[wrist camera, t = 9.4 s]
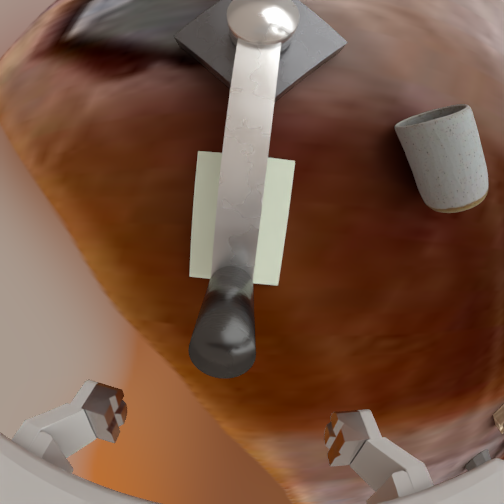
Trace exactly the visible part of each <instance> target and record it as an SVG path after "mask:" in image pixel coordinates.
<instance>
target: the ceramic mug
mask: <svg viewBox="0 0 504 504" xmlns="http://www.w3.org/2000/svg"><path fill="white" fill-rule="evenodd" d="M395 131H396V134H397V136H398V138H399V140H400V142H401V145H402V147H403V149H404V152H405V154H406V157H407V160H408V162H409V165H410V167H411V170H412V172H413V175H414V178H415V181H416V184H417V187H418V190H419V192H420V194H421V196H422V199H423V200H424V202H425V204H426V205H427V206H428V207H429V208H431V209H433V210H435V211H438V212H443V213H455V212H460V211H465V210H468V209H470V208H473V207H475V206H476V205H478V204H479V203H481V202H482V201H483V200H484V198H485V197H486V195H487V192H488V173H487V167H486V163H485V159H484V155H483V150H482V146H481V142H480V138H479V134H478V130H477V126H476V122H475V119H474V116H473V112H472V110H471V108H470V106H469V105H465V104H459V105H452V106H447V107H442V108H438V109H434V110H431V111H427V112H424V113H421V114H418V115H415V116H412V117H410V118H407V119H405V120H403V121H401V122H399V123H397V124H396V125H395Z"/></svg>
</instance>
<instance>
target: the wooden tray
mask: <svg viewBox="0 0 504 504" xmlns="http://www.w3.org/2000/svg"><path fill="white" fill-rule="evenodd" d="M493 417H494V421H495V425H496V427H497V428H498V429H499V431H500V432H501V434H503V433H504V404H503V405H502V406H501V408H499V409H498V410H497V411H496V412H495V413H494V414H493Z"/></svg>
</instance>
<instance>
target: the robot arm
mask: <svg viewBox="0 0 504 504" xmlns="http://www.w3.org/2000/svg"><path fill="white" fill-rule="evenodd" d="M123 397H124V394H123V391H122V390H121V389H118V388H114V387H111V386H108V385H105V384H102V383H98V382H95V381H92V380H87V381H85V383H84V384H83V386H82V387H81V388H80V390H79V391H78V393H77V394H76V396H75V397H74V399H73V400H72V402H71V403H70V404H68V403H66V404H64V405H61V406H59V407H57V408H54V409H52V410H49V411H47V412H45V413H42V414H40V415H37V416H35V417H32V418H30V419H27V420H25V421H24V422H23V423H22V425H21V426H20V428H19V429H18V431H17V432H16V433H15V435H14V436H13V438H12V439H9V438H7V437H6V436H5V435H3V434H2V433H0V504H161V503H156V502H152V501H149V500H144V499H141V498H137V497H134V496H130V495H127V494H124V493H121V492H118V491H115V490H112V489H109V488H106V487H104V486H101V485H98V484H96V483H93V482H91V481H88V480H86V479H83V478H81V477H79V476H76V475H74V474H72V472H73V467H72V466H71V465H70V463H69V462H68V460H67V459H66V458H68V457H69V456H71V455H72V454H74V453H75V452H77V451H78V450H80V449H81V448H83V447H85V446H86V445H88V444H89V443H91V442H92V441H94V440H95V439H96V438H99V439H103V440H106V441H109V442H112V443H115V442H116V440H117V437H118V436H119V433H120V430H119V426H121V425H123V424H124V422H125V420H126V416H127V406H126V403H125V402H124V401H123V400H122V399H123ZM330 420H331V422H330V423H329V424H327V426H326V428H325V432H324V442H325V446H326V447H328V448H329V451H328V453H327V456H328V460H329V465H330V466H342V465H350V467H351V468H352V469H353V470H354V471H355V472H356V473H357V474H358V475H359V476H360V477H361V478H362V479H363V480H364V481H365V482H366V483H367V484H368V485H369V486H371V487H372V488H373V489H374V490H375V491H376V492H375V493H374V494H373V495H372V496H371V497H370V498H369V499H368V500H367V501H366V503H367V504H504V460H501V459H499V458H494V459H491V460H489V461H487V462H485V463H483V464H481V465H480V466H478V467H476V468H474V469H472V470H470V471H467V472H465V473H463V474H461V475H459V476H457V477H454V478H452V479H450V480H447V481H445V482H442V483H440V484H437V485H435V486H434V484H433V482H432V479H431V477H430V475H429V473H428V470H427V468H426V466H425V464H424V463H423V462H421V461H419V460H418V459H416V458H415V457H413V456H412V455H410V454H409V453H407V452H406V451H404V450H403V449H401V448H400V447H399V446H397V445H396V444H394V443H393V442H391V441H390V440H388V439H387V438H386V437H384V438H382V436H381V434H380V431H379V429H378V427H377V424H376V422H375V420H374V417H373V415H372V412H371V411H370V410H369V409H367V410H353V411H340V412H333V413H332V415H331V417H330Z"/></svg>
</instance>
